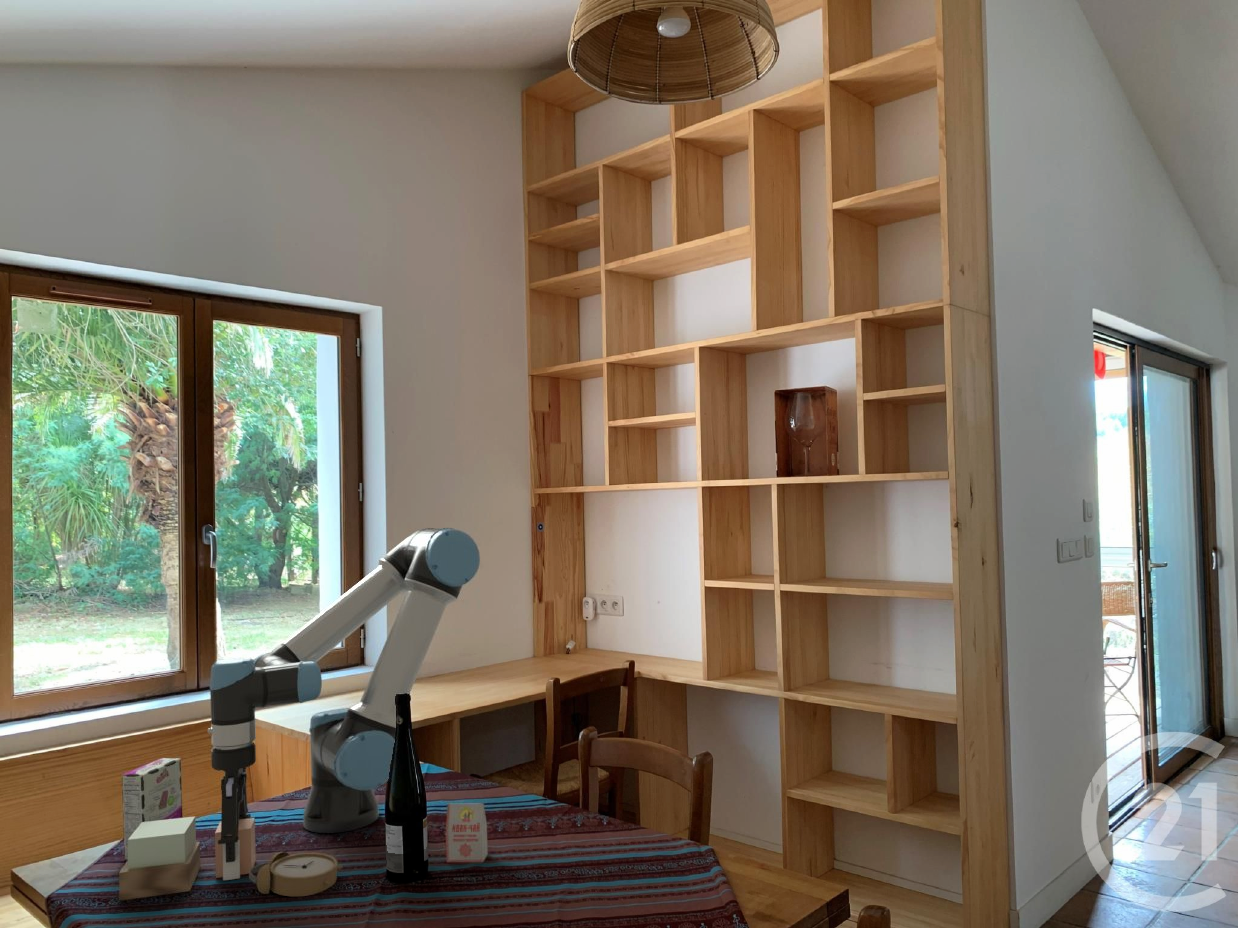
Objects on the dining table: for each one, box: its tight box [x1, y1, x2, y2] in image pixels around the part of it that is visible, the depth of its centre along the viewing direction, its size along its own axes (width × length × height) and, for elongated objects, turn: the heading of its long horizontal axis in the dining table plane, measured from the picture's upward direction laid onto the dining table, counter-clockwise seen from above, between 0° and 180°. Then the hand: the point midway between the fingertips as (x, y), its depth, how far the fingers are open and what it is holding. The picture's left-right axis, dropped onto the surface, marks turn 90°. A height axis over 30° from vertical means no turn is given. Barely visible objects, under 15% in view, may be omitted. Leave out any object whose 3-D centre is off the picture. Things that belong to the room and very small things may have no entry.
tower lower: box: [118, 841, 201, 901], centre depth 163 cm, size 11×11×5 cm
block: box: [214, 817, 256, 879], centre depth 168 cm, size 6×6×8 cm
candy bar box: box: [121, 757, 183, 861], centre depth 179 cm, size 11×5×16 cm, turn 168°
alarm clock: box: [248, 851, 343, 897], centre depth 161 cm, size 11×5×15 cm
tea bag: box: [445, 802, 489, 863], centre depth 170 cm, size 4×7×10 cm, turn 85°
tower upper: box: [128, 816, 197, 869], centre depth 163 cm, size 9×9×5 cm
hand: (235, 867), depth 168 cm, fingers open, 9 cm apart
